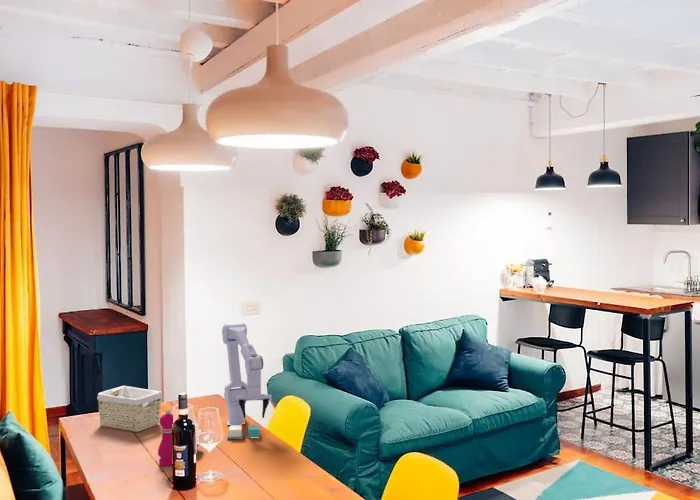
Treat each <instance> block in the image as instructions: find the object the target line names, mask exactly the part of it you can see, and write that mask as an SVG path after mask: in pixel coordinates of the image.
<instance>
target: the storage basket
mask: <svg viewBox="0 0 700 500" xmlns="http://www.w3.org/2000/svg"><path fill="white" fill-rule="evenodd" d="M96 398H97V399H96V400H97V401H98V412H99V422H100V423H99V425H100V426H102V427H106V428H107V427H108V428H112V429H118V430H123V431H129V432H136V433H137V432H140V431H144V430H146V429H150V428H151V427H155V426H157V425H159V424H160V418H161V404H162V398H163V393H162V391H161V390H160V391H158V390H153V389H146V388H141V387H134V386H127V385H121V386H118V387H114V388H111V389H107V390H104V391H101V392H98V393H97V397H96Z"/></svg>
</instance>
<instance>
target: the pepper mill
mask: <svg viewBox="0 0 700 500" xmlns="http://www.w3.org/2000/svg"><path fill="white" fill-rule="evenodd" d="M173 415H174V414H172V413H171V410H170V409H167V410H165V414H162V415H161V416H160V418H159V425H160V426H161V428H160V432H161V435H162V436H161V441H160V444H159V446H158V448H157V455H158V457H159V460H158V461H159V462H158V464H159V465H160V466H161V467H172V466H173V465H172V424H173Z"/></svg>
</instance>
